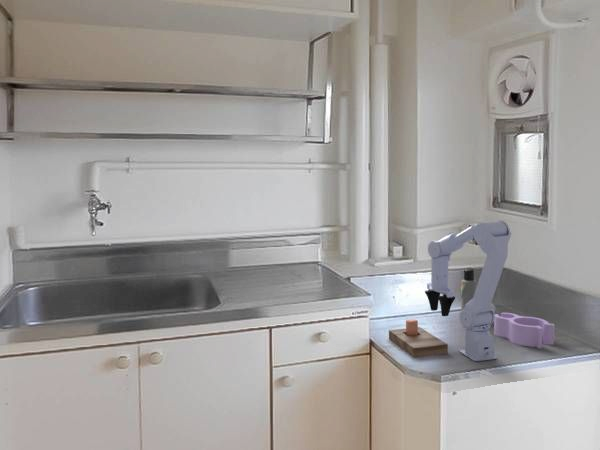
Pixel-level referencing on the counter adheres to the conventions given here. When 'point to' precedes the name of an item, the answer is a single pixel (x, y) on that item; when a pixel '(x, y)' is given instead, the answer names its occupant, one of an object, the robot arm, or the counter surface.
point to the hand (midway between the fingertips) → (439, 313)
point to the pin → (411, 327)
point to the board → (418, 343)
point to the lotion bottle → (467, 287)
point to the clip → (524, 330)
